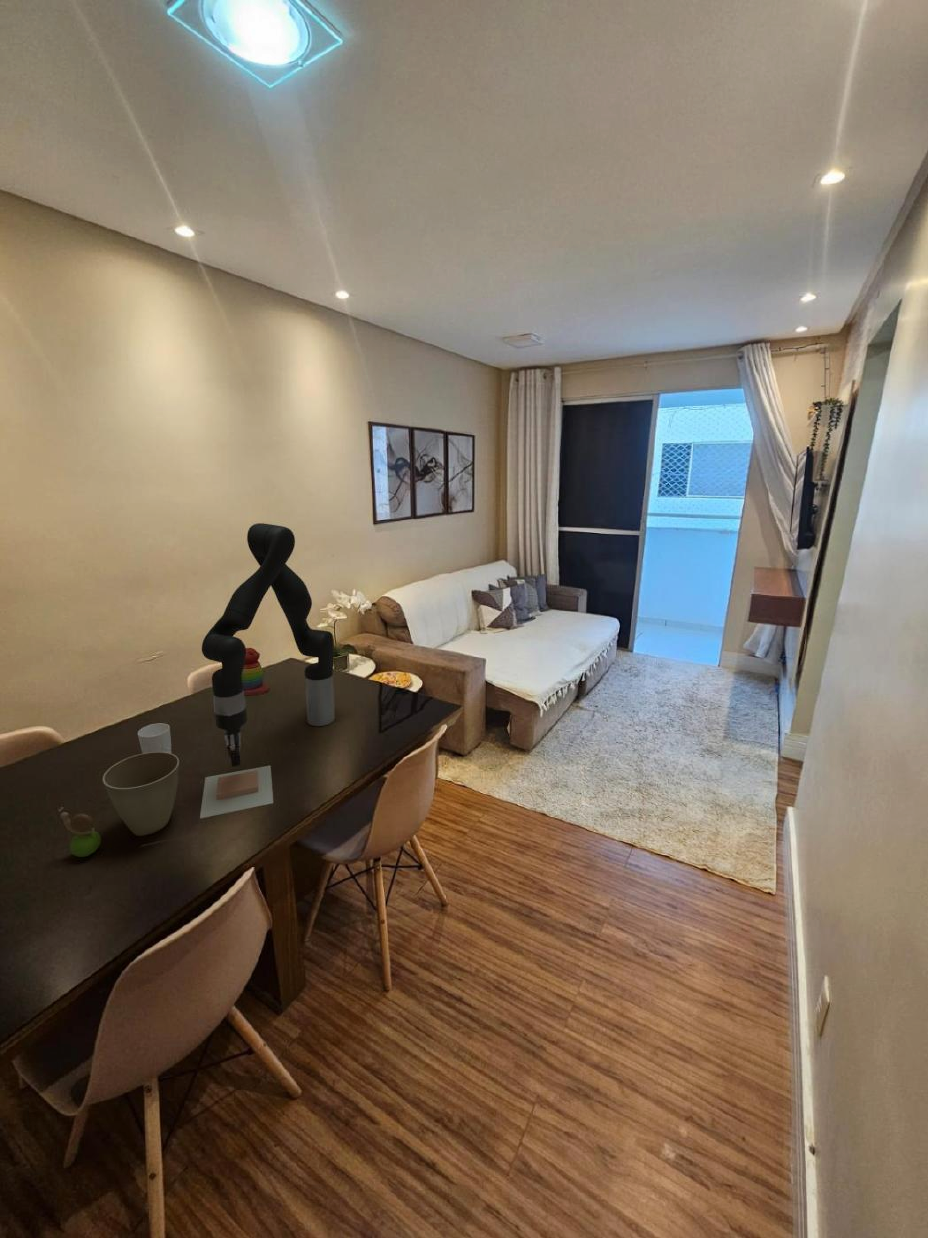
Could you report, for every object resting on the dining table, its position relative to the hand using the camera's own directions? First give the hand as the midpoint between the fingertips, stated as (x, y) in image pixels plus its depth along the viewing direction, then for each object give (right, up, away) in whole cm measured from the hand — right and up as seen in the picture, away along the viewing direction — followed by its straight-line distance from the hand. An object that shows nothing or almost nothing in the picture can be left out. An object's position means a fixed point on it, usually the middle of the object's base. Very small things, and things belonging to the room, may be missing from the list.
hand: (236, 764), depth 131 cm
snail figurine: (-23, -13, -23) cm, 35 cm away
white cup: (-29, -2, +12) cm, 31 cm away
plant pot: (-14, -11, -14) cm, 22 cm away
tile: (-1, -4, +3) cm, 5 cm away
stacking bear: (-21, +11, +59) cm, 63 cm away
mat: (+1, -7, -1) cm, 7 cm away
